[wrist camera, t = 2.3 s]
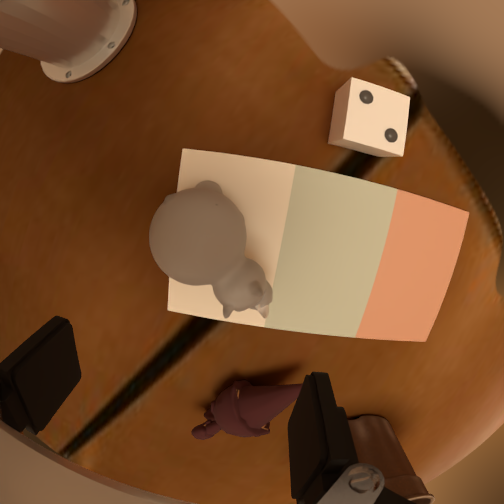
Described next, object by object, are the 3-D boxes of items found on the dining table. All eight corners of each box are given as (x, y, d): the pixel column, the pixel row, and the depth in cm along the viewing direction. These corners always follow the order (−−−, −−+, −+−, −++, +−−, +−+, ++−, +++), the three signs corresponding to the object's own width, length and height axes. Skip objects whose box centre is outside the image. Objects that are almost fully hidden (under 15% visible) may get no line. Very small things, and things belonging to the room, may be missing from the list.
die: (335, 92, 22) (352, 76, 17) (385, 107, 22) (410, 97, 17) (327, 143, 24) (343, 138, 19) (378, 156, 24) (403, 156, 19)
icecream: (284, 376, 23) (168, 418, 27) (322, 430, 23) (206, 461, 27) (293, 343, 30) (193, 388, 34) (325, 392, 30) (225, 427, 34)
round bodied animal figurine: (234, 311, 28) (225, 365, 20) (155, 215, 26) (113, 239, 18) (295, 271, 27) (308, 316, 19) (215, 166, 24) (193, 167, 16)
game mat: (183, 148, 24) (182, 148, 24) (468, 212, 25) (469, 212, 24) (168, 309, 29) (167, 310, 29) (424, 340, 29) (425, 341, 29)
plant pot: (358, 467, 38) (374, 538, 22) (279, 457, 36) (282, 544, 21) (420, 411, 33) (457, 489, 18) (339, 395, 32) (368, 503, 16)
